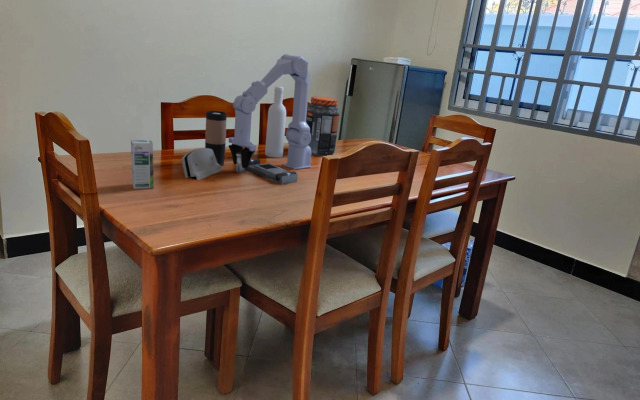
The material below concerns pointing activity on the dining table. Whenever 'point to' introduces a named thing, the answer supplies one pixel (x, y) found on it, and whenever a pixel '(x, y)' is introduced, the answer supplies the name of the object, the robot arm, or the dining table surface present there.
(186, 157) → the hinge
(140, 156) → the syrup box
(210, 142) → the travel mug
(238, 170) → the steel pin
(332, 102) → the supplement tub
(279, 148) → the bottle
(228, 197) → the dining table surface
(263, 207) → the dining table surface
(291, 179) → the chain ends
